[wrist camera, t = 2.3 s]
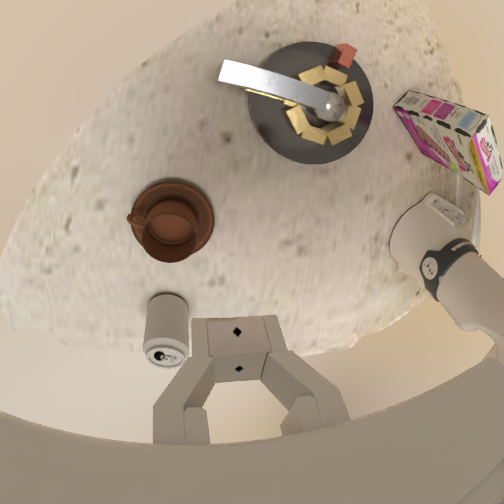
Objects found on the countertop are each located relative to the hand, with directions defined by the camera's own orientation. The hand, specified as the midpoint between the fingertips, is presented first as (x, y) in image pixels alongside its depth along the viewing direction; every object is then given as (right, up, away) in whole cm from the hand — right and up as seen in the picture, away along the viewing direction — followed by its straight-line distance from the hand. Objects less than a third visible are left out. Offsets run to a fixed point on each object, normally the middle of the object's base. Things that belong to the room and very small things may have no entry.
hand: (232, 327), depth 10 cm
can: (-15, -7, +39) cm, 42 cm away
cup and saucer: (-11, +8, +29) cm, 32 cm away
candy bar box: (+27, +24, +25) cm, 44 cm away
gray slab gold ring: (+5, +22, +19) cm, 29 cm away
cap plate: (+9, +23, +22) cm, 33 cm away
